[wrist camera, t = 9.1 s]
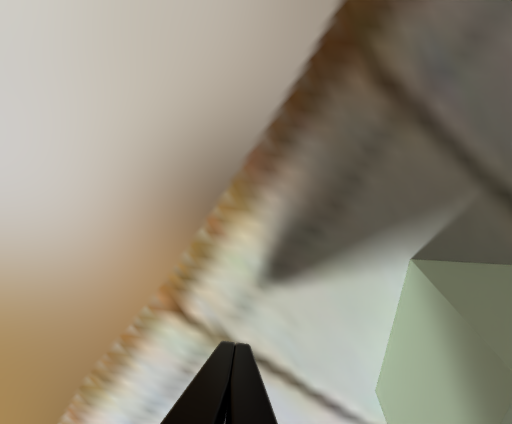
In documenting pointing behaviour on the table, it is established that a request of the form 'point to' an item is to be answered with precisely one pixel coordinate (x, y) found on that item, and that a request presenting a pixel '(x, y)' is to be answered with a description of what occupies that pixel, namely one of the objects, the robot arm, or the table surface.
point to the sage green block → (450, 346)
